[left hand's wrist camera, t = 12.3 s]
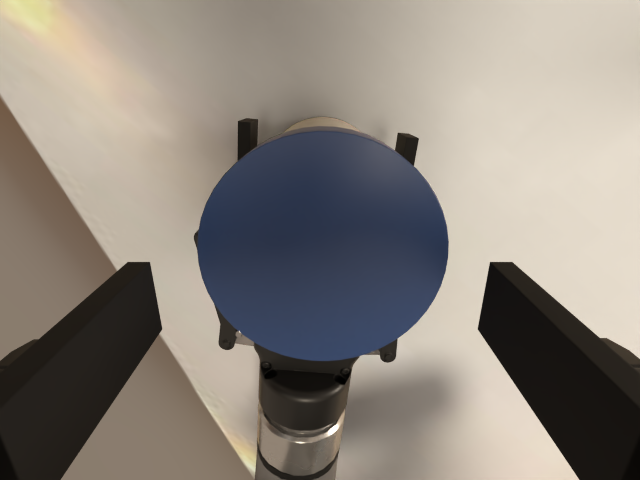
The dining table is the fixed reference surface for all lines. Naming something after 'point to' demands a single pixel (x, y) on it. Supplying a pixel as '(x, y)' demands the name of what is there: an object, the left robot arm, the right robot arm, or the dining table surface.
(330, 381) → the right robot arm
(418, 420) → the dining table surface
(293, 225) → the lid
